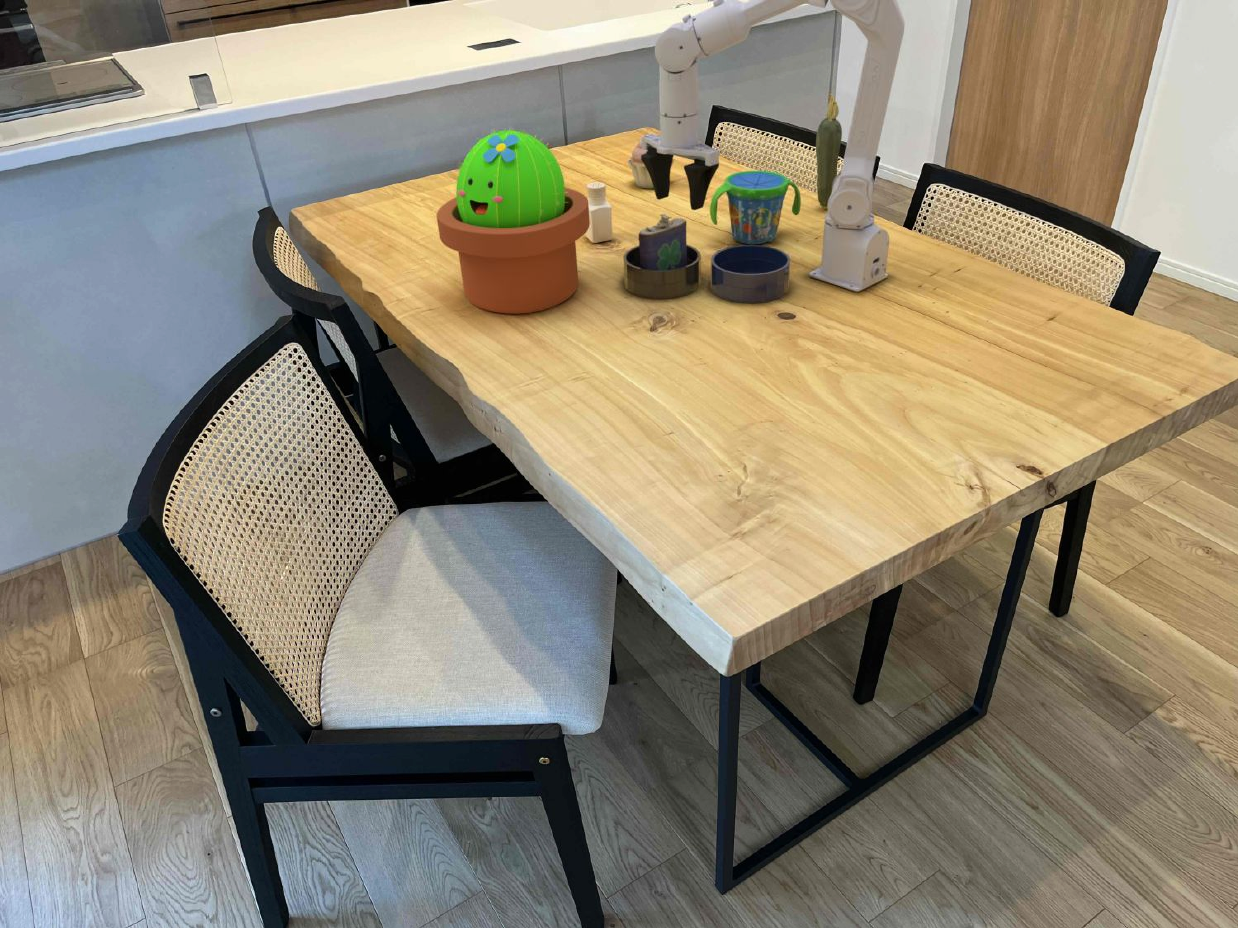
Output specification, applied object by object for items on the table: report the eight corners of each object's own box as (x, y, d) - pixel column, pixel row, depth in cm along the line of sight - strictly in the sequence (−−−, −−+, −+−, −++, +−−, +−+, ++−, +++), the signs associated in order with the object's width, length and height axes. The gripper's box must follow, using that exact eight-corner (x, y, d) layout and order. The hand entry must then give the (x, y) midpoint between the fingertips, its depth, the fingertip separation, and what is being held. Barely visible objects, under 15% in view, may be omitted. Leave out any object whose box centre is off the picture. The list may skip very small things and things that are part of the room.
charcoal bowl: (716, 282, 146) (716, 254, 143) (661, 306, 139) (660, 278, 137) (663, 262, 153) (662, 236, 151) (608, 284, 147) (607, 257, 144)
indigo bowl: (804, 286, 143) (806, 258, 141) (752, 310, 137) (754, 281, 134) (746, 265, 151) (747, 239, 148) (694, 288, 144) (694, 260, 142)
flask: (679, 270, 150) (678, 205, 143) (692, 275, 148) (692, 209, 142) (636, 287, 145) (634, 220, 139) (649, 293, 143) (647, 225, 137)
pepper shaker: (614, 240, 162) (611, 186, 157) (592, 244, 161) (589, 190, 156) (605, 233, 165) (602, 180, 160) (584, 237, 164) (581, 183, 159)
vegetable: (835, 214, 168) (845, 98, 157) (810, 213, 169) (819, 98, 158) (835, 206, 172) (845, 92, 161) (811, 205, 173) (819, 92, 162)
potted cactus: (507, 256, 159) (489, 103, 144) (618, 277, 149) (610, 115, 135) (422, 305, 143) (393, 139, 129) (539, 333, 133) (521, 157, 119)
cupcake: (683, 180, 188) (682, 129, 183) (660, 194, 182) (659, 142, 176) (643, 174, 193) (642, 125, 187) (619, 188, 186) (617, 136, 181)
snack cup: (789, 224, 165) (793, 166, 160) (807, 245, 157) (812, 185, 151) (703, 231, 164) (703, 174, 158) (716, 253, 155) (717, 193, 150)
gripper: (626, 111, 141) (629, 199, 148) (695, 126, 132) (695, 220, 139) (659, 101, 145) (661, 188, 152) (729, 116, 135) (727, 208, 143)
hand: (679, 203), depth 146 cm, fingers open, 7 cm apart
